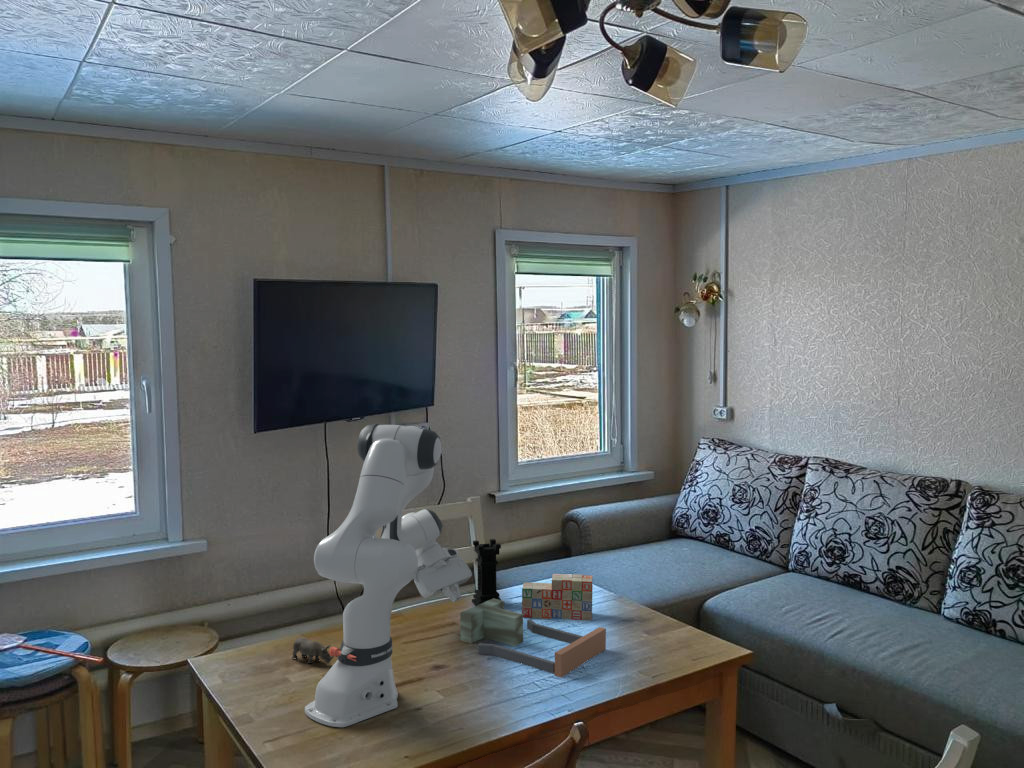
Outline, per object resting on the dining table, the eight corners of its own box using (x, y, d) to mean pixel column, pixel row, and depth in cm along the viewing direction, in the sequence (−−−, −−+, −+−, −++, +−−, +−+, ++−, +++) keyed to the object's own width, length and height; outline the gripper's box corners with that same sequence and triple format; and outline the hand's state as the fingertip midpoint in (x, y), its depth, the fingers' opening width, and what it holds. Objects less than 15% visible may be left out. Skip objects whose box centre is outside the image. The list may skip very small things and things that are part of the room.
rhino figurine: (328, 670, 214) (327, 647, 213) (289, 659, 220) (288, 637, 220) (338, 664, 217) (338, 642, 217) (300, 654, 224) (299, 632, 224)
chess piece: (471, 601, 266) (471, 540, 264) (495, 599, 268) (495, 538, 266) (478, 609, 258) (477, 547, 256) (502, 607, 260) (502, 544, 259)
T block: (502, 652, 224) (502, 624, 224) (460, 640, 234) (460, 612, 233) (534, 636, 236) (534, 608, 236) (493, 624, 245) (493, 598, 245)
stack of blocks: (521, 618, 251) (521, 578, 250) (523, 610, 257) (523, 572, 256) (592, 621, 248) (592, 581, 248) (592, 613, 255) (592, 574, 254)
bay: (558, 679, 208) (558, 656, 207) (476, 653, 224) (476, 632, 224) (607, 648, 227) (607, 627, 227) (529, 627, 243) (529, 607, 243)
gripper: (414, 563, 239) (439, 603, 234) (460, 548, 255) (484, 585, 250) (403, 576, 242) (428, 615, 237) (449, 559, 258) (473, 596, 253)
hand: (457, 599), depth 243 cm, fingers closed
